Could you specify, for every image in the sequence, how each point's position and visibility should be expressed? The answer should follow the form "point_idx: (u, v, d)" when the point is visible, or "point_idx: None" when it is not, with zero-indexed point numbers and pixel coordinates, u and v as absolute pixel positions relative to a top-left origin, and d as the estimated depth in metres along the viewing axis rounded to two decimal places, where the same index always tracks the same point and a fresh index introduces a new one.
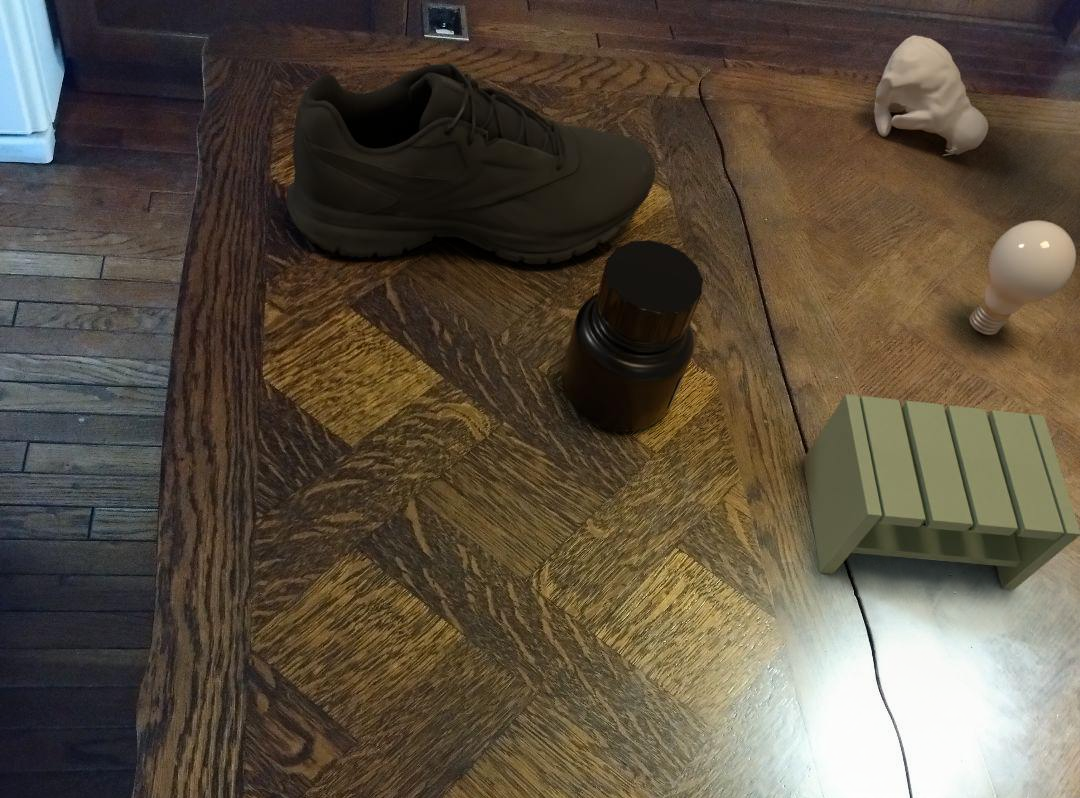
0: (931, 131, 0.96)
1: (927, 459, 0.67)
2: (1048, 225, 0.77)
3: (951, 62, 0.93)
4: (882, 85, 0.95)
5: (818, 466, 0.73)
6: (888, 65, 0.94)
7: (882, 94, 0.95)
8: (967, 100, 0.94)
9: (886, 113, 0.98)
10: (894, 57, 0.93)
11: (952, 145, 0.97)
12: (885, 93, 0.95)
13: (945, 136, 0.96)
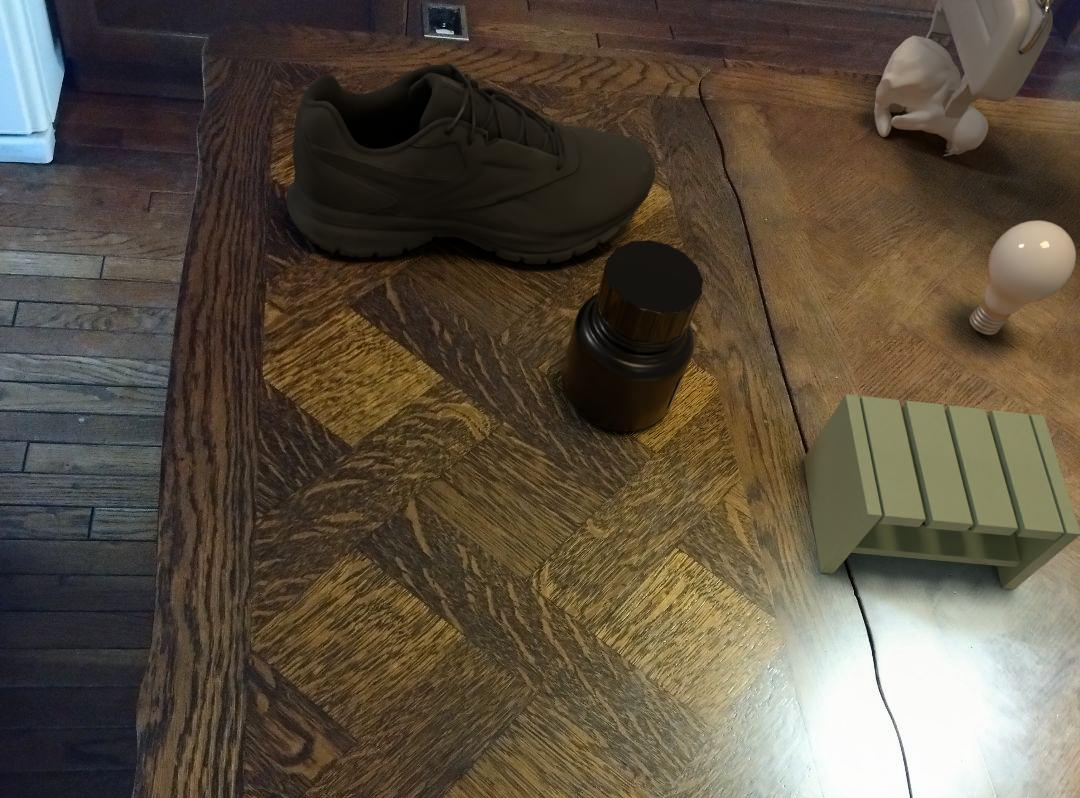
0: (931, 131, 0.96)
1: (927, 459, 0.67)
2: (1048, 225, 0.77)
3: (951, 62, 0.93)
4: (882, 86, 0.95)
5: (818, 466, 0.73)
6: (888, 65, 0.94)
7: (881, 94, 0.95)
8: None
9: (886, 113, 0.97)
10: (894, 58, 0.93)
11: (952, 145, 0.97)
12: (885, 94, 0.95)
13: (945, 136, 0.96)
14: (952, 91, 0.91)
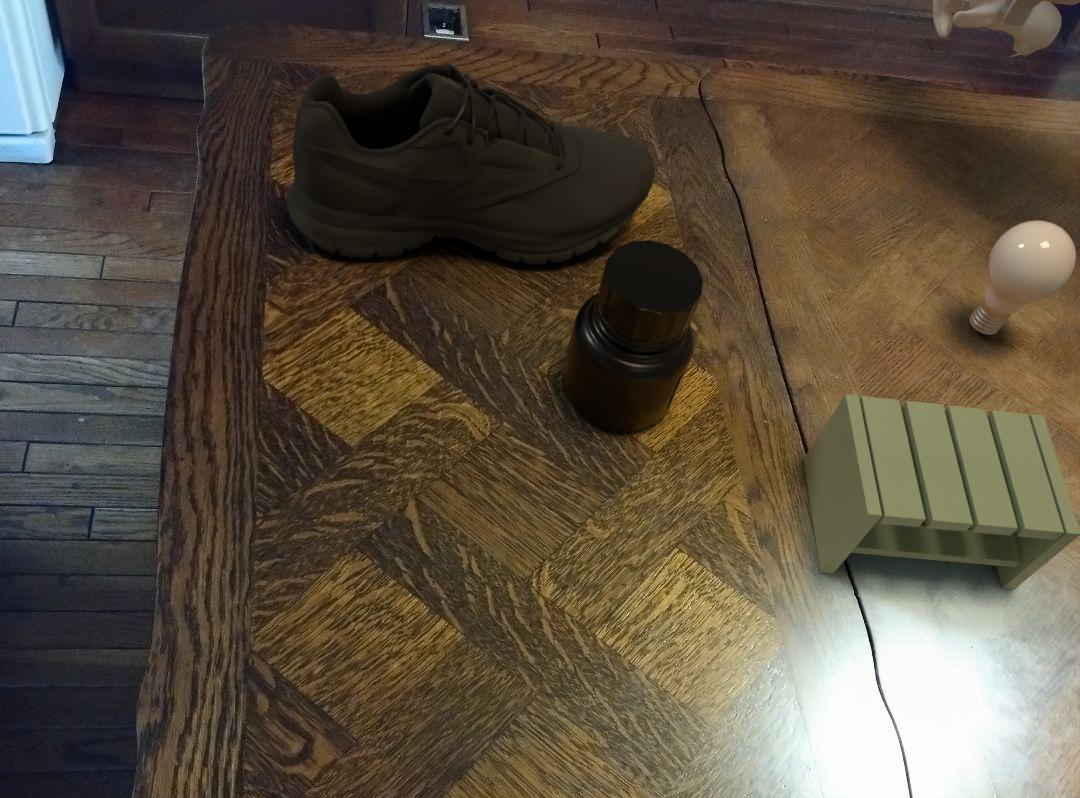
0: (998, 28, 0.87)
1: (927, 459, 0.67)
2: (1048, 225, 0.77)
3: None
4: None
5: (818, 466, 0.73)
6: None
7: None
8: None
9: (946, 11, 0.88)
10: None
11: (1021, 44, 0.87)
12: None
13: (1013, 34, 0.87)
14: None
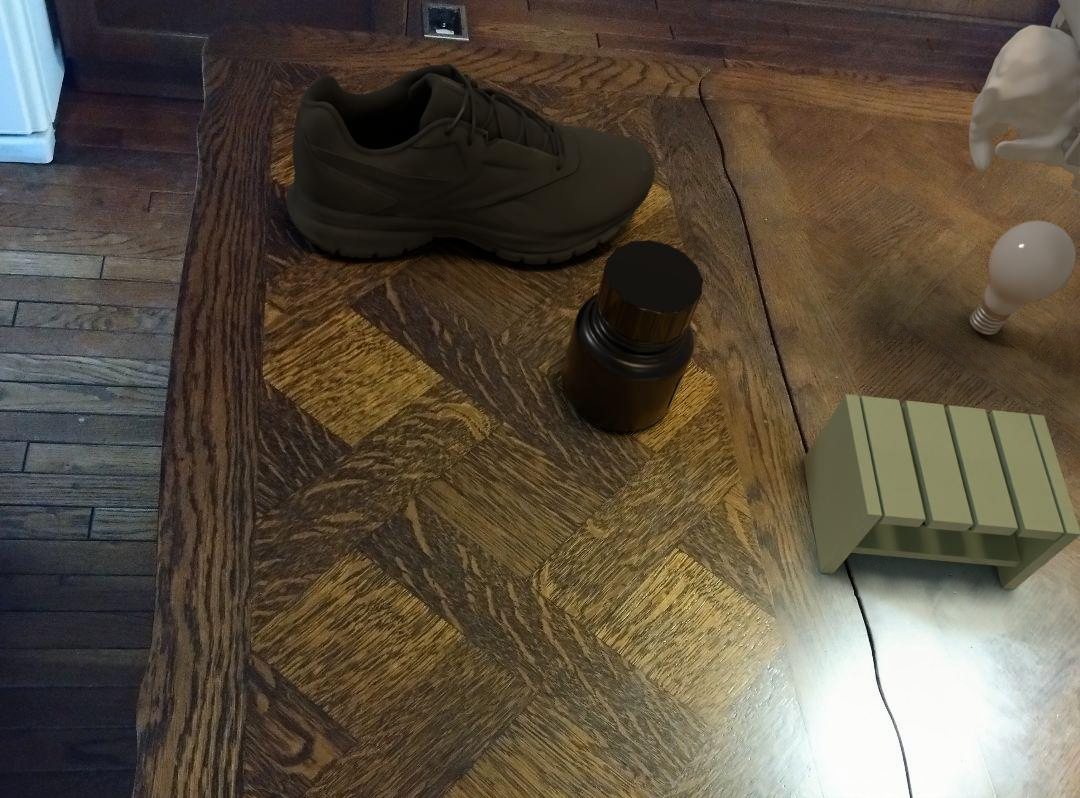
0: (1054, 164, 0.66)
1: (927, 459, 0.67)
2: (1048, 225, 0.77)
3: None
4: (985, 98, 0.65)
5: (818, 466, 0.73)
6: (995, 68, 0.64)
7: (983, 110, 0.65)
8: None
9: (986, 138, 0.67)
10: (1005, 57, 0.63)
11: None
12: (988, 109, 0.65)
13: (1074, 171, 0.66)
14: (1078, 128, 0.63)
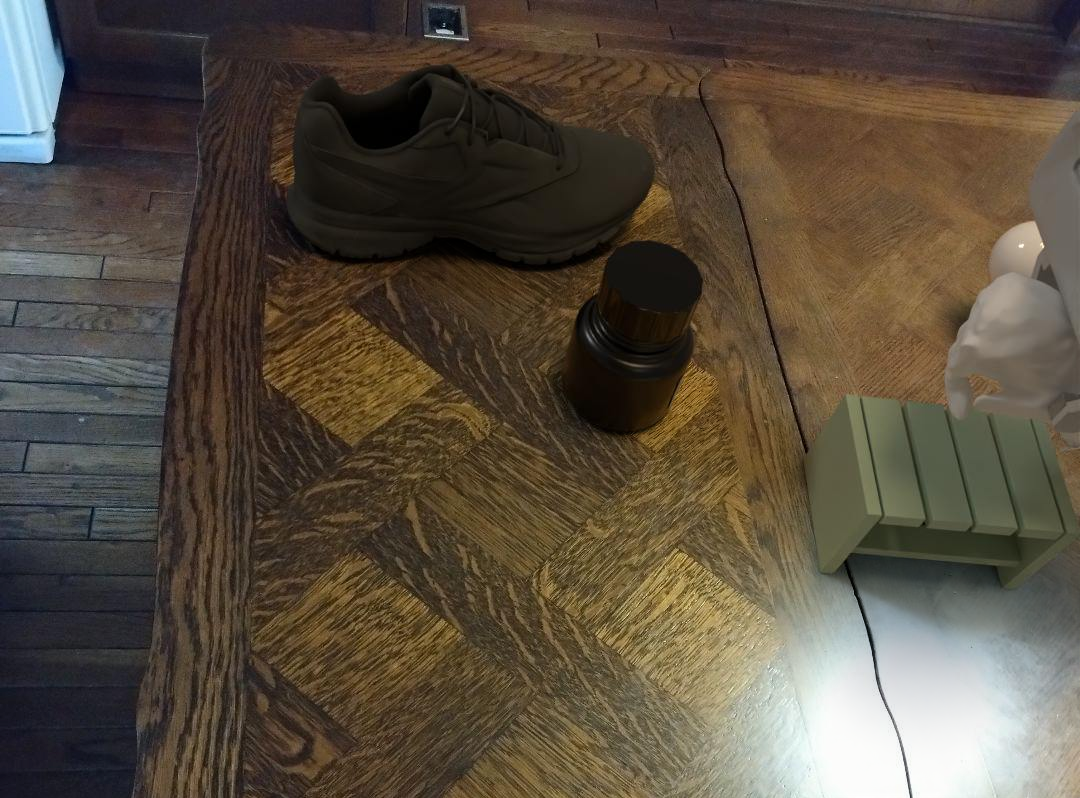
0: (1040, 421, 0.59)
1: (927, 459, 0.67)
2: None
3: None
4: (961, 354, 0.57)
5: (818, 466, 0.73)
6: (973, 323, 0.57)
7: (960, 365, 0.58)
8: None
9: (964, 386, 0.60)
10: (983, 313, 0.56)
11: (1073, 439, 0.60)
12: (965, 365, 0.58)
13: None
14: (1066, 395, 0.56)
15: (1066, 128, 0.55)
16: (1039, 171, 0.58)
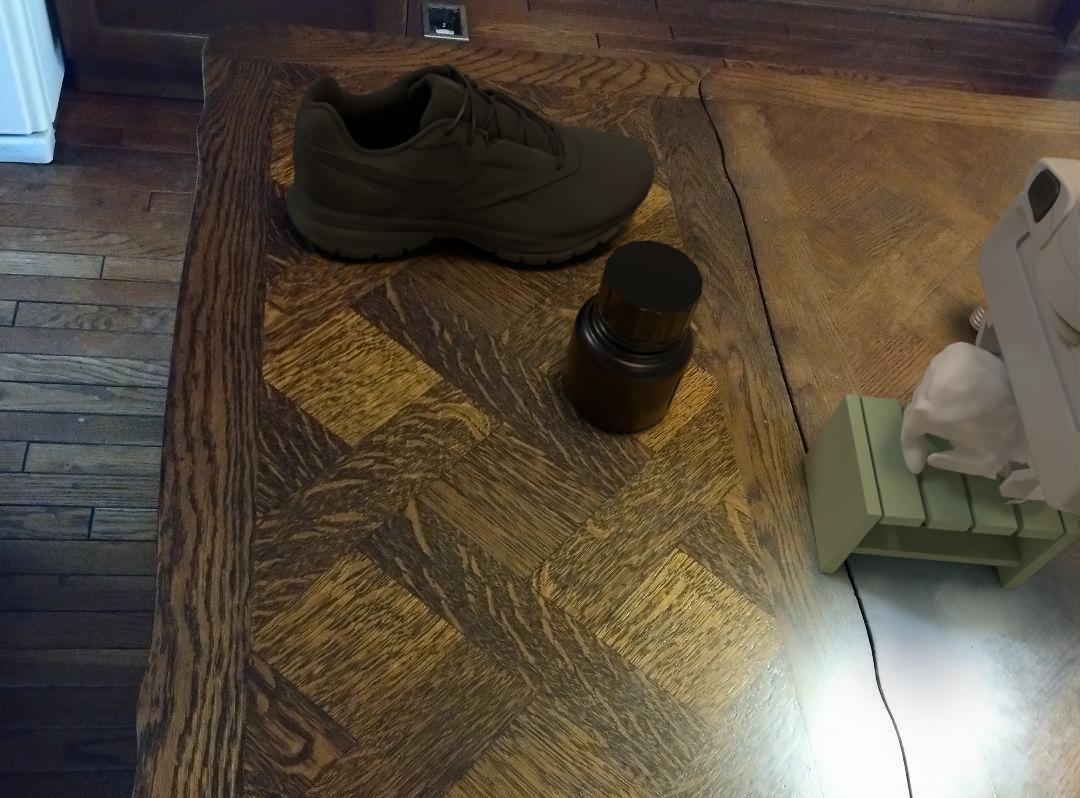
0: (988, 477, 0.64)
1: None
2: None
3: None
4: (914, 416, 0.62)
5: (818, 466, 0.73)
6: (924, 388, 0.62)
7: (913, 426, 0.63)
8: None
9: (919, 443, 0.65)
10: (933, 381, 0.61)
11: None
12: (918, 426, 0.63)
13: None
14: (1012, 463, 0.60)
15: (1008, 210, 0.60)
16: (986, 246, 0.63)
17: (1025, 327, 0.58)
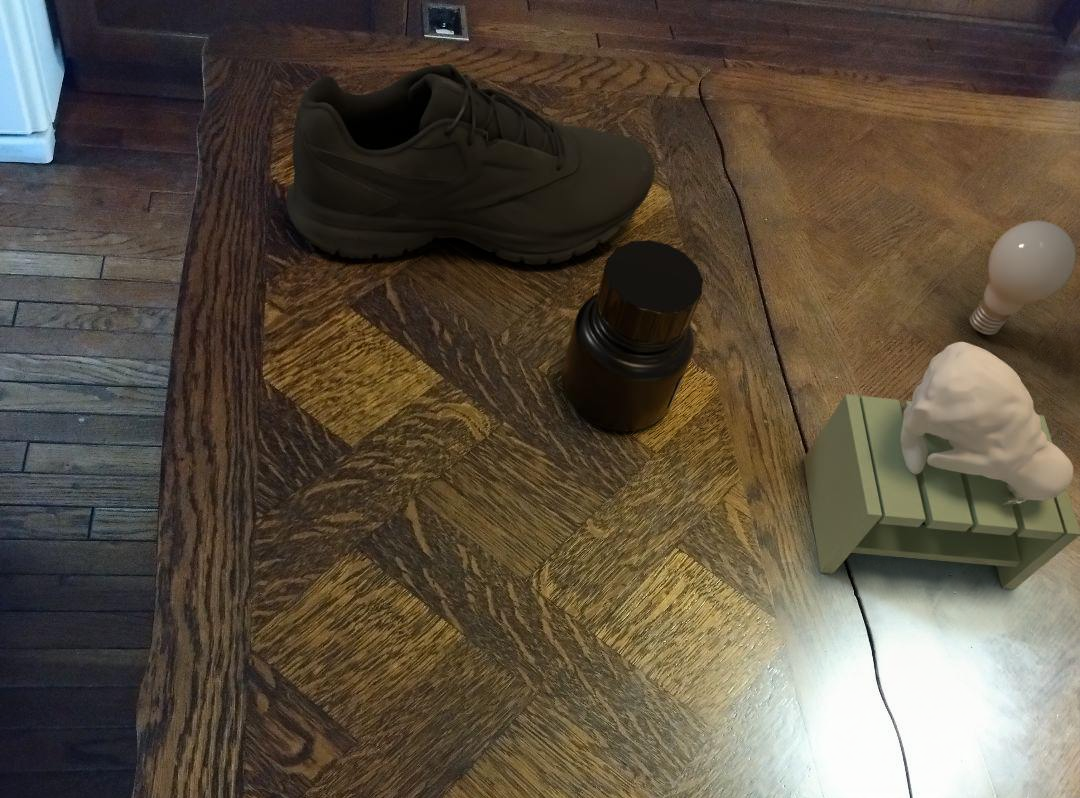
0: (988, 477, 0.64)
1: None
2: (1048, 225, 0.77)
3: (1020, 389, 0.61)
4: (914, 416, 0.62)
5: (818, 466, 0.73)
6: (924, 388, 0.62)
7: (913, 426, 0.63)
8: (1043, 438, 0.62)
9: (919, 443, 0.65)
10: (933, 381, 0.61)
11: (1018, 493, 0.65)
12: (918, 426, 0.63)
13: (1008, 482, 0.64)
14: None
15: None
16: None
17: None
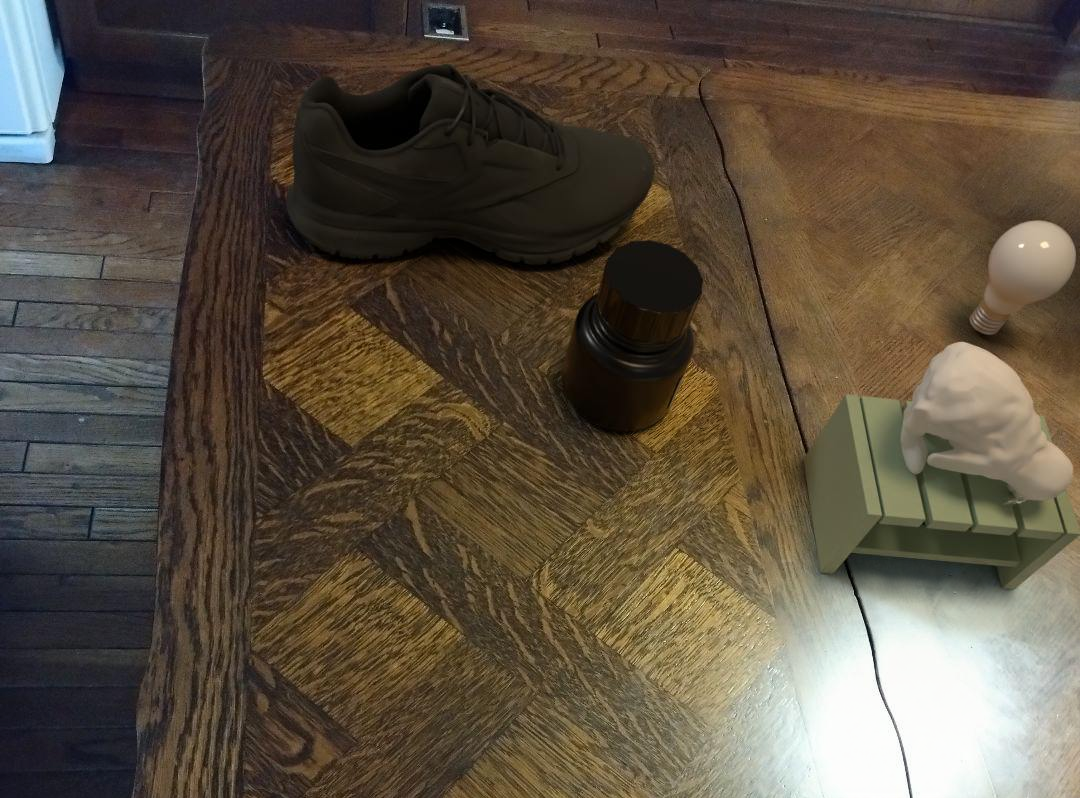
0: (988, 477, 0.64)
1: None
2: (1048, 225, 0.77)
3: (1020, 389, 0.61)
4: (914, 416, 0.62)
5: (818, 466, 0.73)
6: (924, 388, 0.62)
7: (913, 426, 0.63)
8: (1043, 438, 0.62)
9: (919, 443, 0.65)
10: (933, 381, 0.61)
11: (1018, 493, 0.65)
12: (918, 426, 0.63)
13: (1008, 482, 0.64)
14: None
15: None
16: None
17: None
